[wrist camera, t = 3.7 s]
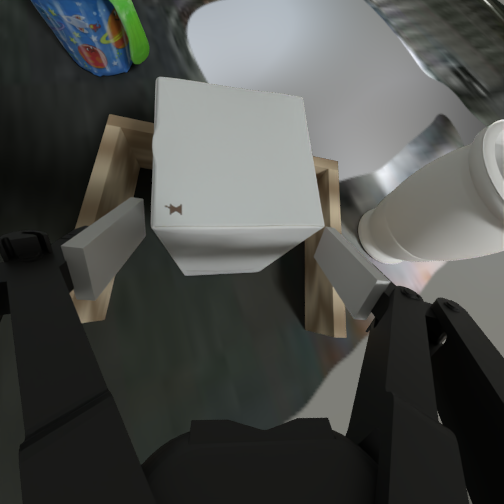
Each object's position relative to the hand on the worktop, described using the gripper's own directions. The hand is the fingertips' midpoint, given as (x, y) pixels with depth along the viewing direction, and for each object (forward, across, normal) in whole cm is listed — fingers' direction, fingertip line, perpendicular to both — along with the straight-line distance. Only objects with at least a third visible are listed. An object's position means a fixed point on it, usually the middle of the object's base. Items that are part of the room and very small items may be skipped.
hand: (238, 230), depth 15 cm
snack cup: (+25, -19, +11) cm, 33 cm away
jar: (+11, +22, -3) cm, 25 cm away
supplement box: (+9, -1, -5) cm, 10 cm away
